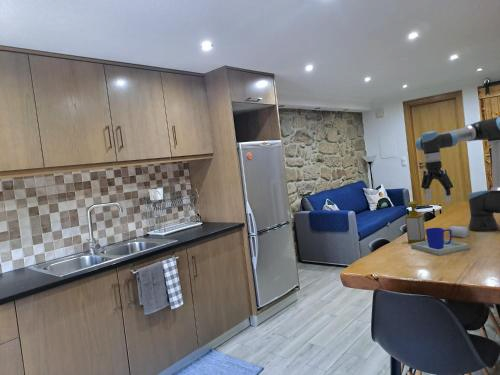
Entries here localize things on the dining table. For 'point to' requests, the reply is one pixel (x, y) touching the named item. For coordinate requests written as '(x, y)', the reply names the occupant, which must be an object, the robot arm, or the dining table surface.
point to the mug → (437, 237)
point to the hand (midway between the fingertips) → (438, 201)
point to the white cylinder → (459, 231)
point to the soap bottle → (415, 225)
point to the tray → (445, 250)
